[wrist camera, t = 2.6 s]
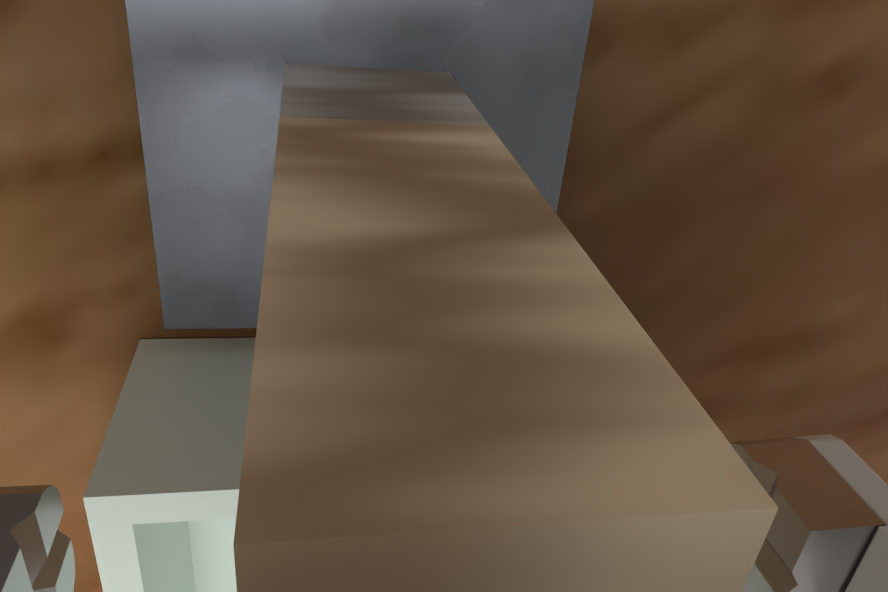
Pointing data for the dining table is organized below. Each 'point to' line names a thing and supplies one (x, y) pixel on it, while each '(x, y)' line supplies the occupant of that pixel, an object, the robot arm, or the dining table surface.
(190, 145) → the stud plate
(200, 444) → the bin
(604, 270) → the dining table surface
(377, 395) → the strut
